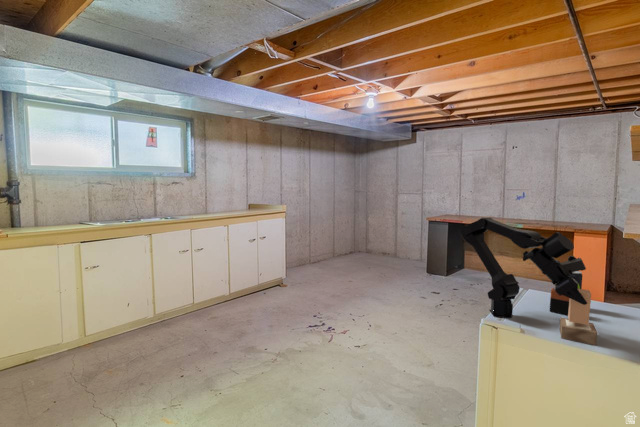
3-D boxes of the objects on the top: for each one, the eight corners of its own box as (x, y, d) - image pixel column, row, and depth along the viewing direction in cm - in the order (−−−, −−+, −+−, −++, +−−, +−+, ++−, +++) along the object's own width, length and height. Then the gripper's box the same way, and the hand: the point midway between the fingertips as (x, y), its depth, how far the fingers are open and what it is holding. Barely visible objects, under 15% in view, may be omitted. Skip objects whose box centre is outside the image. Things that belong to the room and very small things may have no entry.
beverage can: (582, 310, 138) (585, 273, 136) (564, 308, 140) (567, 272, 138) (576, 305, 144) (579, 270, 142) (558, 303, 146) (561, 268, 144)
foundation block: (561, 338, 112) (562, 326, 112) (559, 328, 120) (560, 317, 120) (596, 345, 108) (597, 332, 107) (592, 334, 115) (593, 323, 115)
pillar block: (569, 321, 113) (571, 291, 112) (568, 316, 117) (570, 287, 116) (588, 325, 110) (591, 294, 109) (586, 319, 114) (589, 290, 113)
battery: (570, 316, 131) (572, 290, 130) (549, 311, 136) (551, 287, 135) (572, 313, 135) (574, 288, 134) (551, 309, 139) (553, 284, 138)
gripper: (571, 253, 105) (615, 295, 101) (566, 245, 121) (604, 280, 116) (539, 275, 110) (579, 316, 105) (538, 263, 126) (573, 299, 121)
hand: (584, 301), depth 112 cm, fingers closed on pillar block, 5 cm apart
